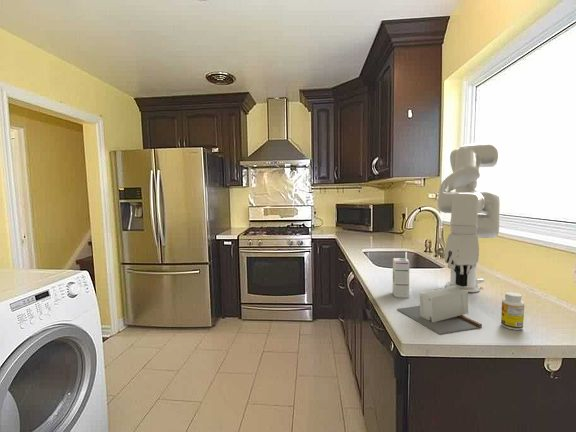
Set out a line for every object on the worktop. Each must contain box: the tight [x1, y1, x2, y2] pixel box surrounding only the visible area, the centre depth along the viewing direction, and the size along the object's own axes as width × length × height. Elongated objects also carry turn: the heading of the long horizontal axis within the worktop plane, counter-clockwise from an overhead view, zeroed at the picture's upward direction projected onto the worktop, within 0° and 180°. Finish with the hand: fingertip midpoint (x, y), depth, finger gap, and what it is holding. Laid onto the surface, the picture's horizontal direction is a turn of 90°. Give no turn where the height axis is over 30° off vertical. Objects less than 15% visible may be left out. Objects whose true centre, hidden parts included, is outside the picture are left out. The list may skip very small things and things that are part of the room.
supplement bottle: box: [500, 291, 525, 331], centre depth 95 cm, size 6×6×10 cm
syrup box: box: [392, 257, 410, 299], centre depth 125 cm, size 6×6×14 cm
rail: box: [456, 315, 483, 329], centre depth 104 cm, size 1×20×1 cm, turn 17°
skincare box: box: [419, 286, 469, 323], centre depth 102 cm, size 8×6×15 cm
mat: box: [396, 305, 479, 335], centre depth 102 cm, size 14×20×1 cm
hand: (461, 285), depth 104 cm, fingers closed
